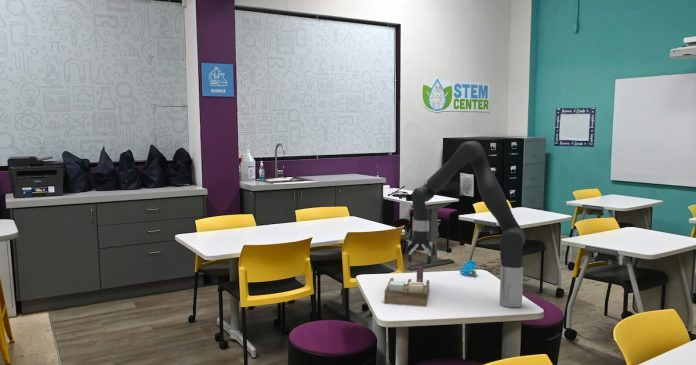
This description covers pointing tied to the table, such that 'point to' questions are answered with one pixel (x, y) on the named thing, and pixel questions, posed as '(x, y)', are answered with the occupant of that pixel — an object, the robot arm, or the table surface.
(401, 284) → the sage block
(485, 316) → the table surface
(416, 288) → the purple handled mallet
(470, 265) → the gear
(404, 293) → the wooden tray
